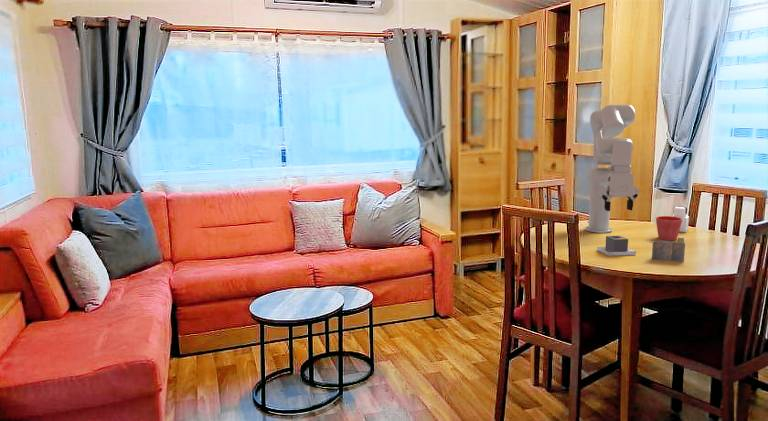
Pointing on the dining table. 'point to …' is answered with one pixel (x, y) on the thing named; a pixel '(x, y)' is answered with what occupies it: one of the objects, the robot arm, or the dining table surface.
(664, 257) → the ruin model on sheet
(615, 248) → the gray rectangular sleeve
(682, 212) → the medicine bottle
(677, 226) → the flower pot
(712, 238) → the dining table surface
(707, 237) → the dining table surface
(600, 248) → the post
